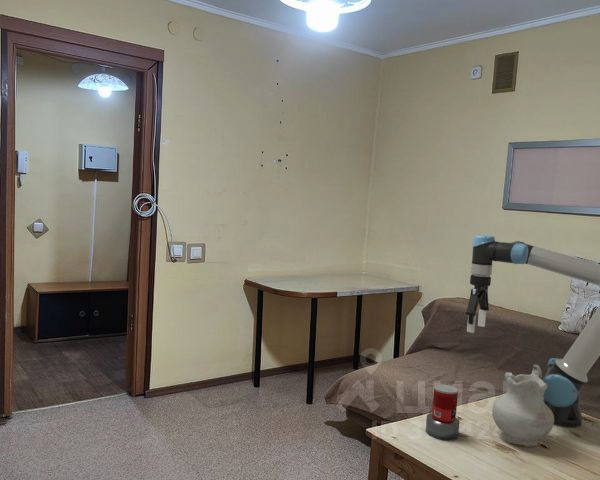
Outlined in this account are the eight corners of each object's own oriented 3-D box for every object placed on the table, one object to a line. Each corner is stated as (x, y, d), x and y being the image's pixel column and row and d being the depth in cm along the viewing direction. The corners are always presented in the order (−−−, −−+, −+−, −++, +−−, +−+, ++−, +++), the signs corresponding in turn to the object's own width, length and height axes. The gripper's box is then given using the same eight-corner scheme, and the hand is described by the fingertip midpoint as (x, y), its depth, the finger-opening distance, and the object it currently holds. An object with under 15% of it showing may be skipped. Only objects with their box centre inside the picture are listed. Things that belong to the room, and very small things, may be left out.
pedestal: (462, 432, 180) (464, 419, 180) (451, 443, 171) (452, 429, 171) (432, 423, 187) (433, 409, 186) (420, 433, 178) (421, 419, 178)
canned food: (456, 425, 174) (459, 393, 174) (432, 421, 176) (434, 390, 175) (454, 416, 182) (457, 385, 181) (430, 412, 183) (433, 382, 183)
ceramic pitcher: (500, 423, 193) (500, 357, 192) (557, 434, 183) (558, 365, 182) (486, 445, 175) (487, 372, 174) (550, 459, 164) (551, 381, 163)
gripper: (480, 271, 211) (476, 322, 213) (460, 276, 191) (455, 332, 193) (499, 273, 207) (494, 325, 209) (481, 279, 187) (475, 336, 189)
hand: (476, 329), depth 201 cm, fingers open, 13 cm apart
